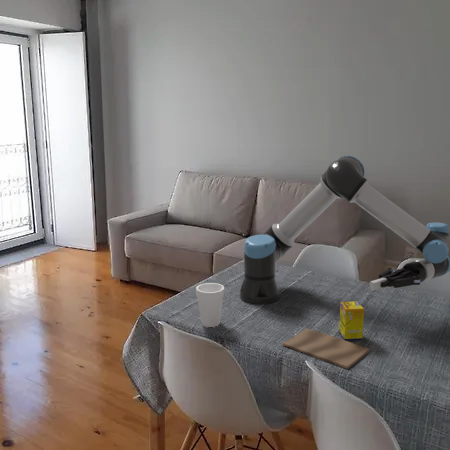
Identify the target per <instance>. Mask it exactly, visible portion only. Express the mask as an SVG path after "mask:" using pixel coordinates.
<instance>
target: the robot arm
mask: <svg viewBox="0 0 450 450" xmlns="http://www.w3.org/2000/svg"><path fill="white" fill-rule="evenodd" d="M337 199H341V200H342V199H344V200H345V201H347V202H348V203H351V204H352V203H355V204H356V205H357V206H359V207H360V208H361V209H362V210H364V211H366V213H368V214H369V215H371V217H373V218H375V219H376V220H377V221H378V222H380V223H382V224H383V225H384V226H385V227H387V228H388V229H390V230H391V231H392V232H393V233H394V234H396V235H398V236H399V237H400V238H402V239H403V240H404V241H406V243H408V244H410V246H412V247H413V248H415V249H416V250H417V251H419V252H420V253H421V254H422V255H423V258H421V259H418V260H414V261H410V262H407V263H406V264H404V265H403V266H402V268H398V269H396V270H394V269H393V268H392V267H388V268H387V270H385V271H383V272H382V273H379V274H378V275H377V276H378V277H377V279H374V280H371V281H370V282H369V291H370V290H371V291H373V292H375V291H377V290H381V289H383V288H387V287H390V288H392V287H393V288H394V289H397V288H403V287H409V286H419V285H421V283H424V282H426V281H428V280H432V279H435V278H438V277H442V276H444V275H446V274H448V273H450V257H449V256H448V255H449V252H450V249H449V235H450V226H449V224H446V223H443V222H436V221H435V222H428V223H427V224H426V226H425V225H424V224H422V223H421V222H420V221H418V220H417V219H416V218H415V217H413V216H412V215H411V214H409V213H408V212H406V210H404V209H402V208H401V207H400V206H398V205H397V204H395V203H394V202H393V201H392V200H390V199H389V198H387V197H386V196H385V195H384V194H382V193H380V192H379V191H378V190H376V189H375V188H374V187H373V186H371V185H370V184H369V180H368V179H367V178H365V167H364V164H363V162H362V161H361V160H360V159H358V157H356V156H353V155H352V156H351V155H344V156H340V157H339V158H338V159H337V160H334V161H333V162H331V164H329V166H328V167H327V169H326V170H325V171H324V173H323V174H322V175H321V176H320V182H319V183H318V184H317V185H316V186H315V187H314V189H313V190H311V191H310V192H309V194H308V195H306V197H304V199H302V200H301V201H300V203H298V204H297V205H296V206H295V207H294V208H293V209H292V210H291V211H290V212H289V213H288V214H287V215H286V216H285V217H284V218H283V219H282V220H281V221H280V222H279V223H273V224H272V225H270V227H268V229H267V230H266V231H265V232H264V233H262V234H255V235H251V236H248V237H247V238H246V240H244V241H245V242H244V246H243V252H244V260H243V261H244V262H243V263H244V268H243V269H244V278H243V281H242V283H241V287H240V290H239V298H240V300H242V301H243V302H246V303H249V304H253V305H254V304H255V305H267V304H272V303H274V302H276V301H278V300H279V298H280V290H279V288H278V283H277V281H276V263H277V262H278V261H279V260H280V259H281V258H282V257H284V255H286V254H287V252H288V251H289V250H290V249H291V248H293V246H294V245H295V240H296V238H297V237H298V236H299V235H300V234H301V233H302V232H304V230H306V228H308V227H309V226H310V225H311V224H312V223H313V222H314V221H315V220H316V219H317V218H318V217H320V216H321V214H322V213H324V212H325V210H327V209H328V208H329V206H331V205H332V204H333V203H334V202H335V201H336V200H337Z"/></svg>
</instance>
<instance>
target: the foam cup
mask: <svg viewBox="0 0 450 450" xmlns="http://www.w3.org/2000/svg"><path fill="white" fill-rule="evenodd" d="M195 295H196V299H197V305H198V310H199V317H200V323H202V324H201V325H203V326H202V327H204V326H205V327H204V328H208V327H213V328H216V327H215V326H217V327H219V326H220V325H221V321H222V311H223V303H224V295H225V286H224V285H223V284H220V283H217V282H207V283H206V282H205V283H201V284H199V285H197V286H196V287H195ZM219 324H220V325H219ZM218 325H219V326H218Z"/></svg>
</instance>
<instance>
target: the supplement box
mask: <svg viewBox="0 0 450 450" xmlns="http://www.w3.org/2000/svg"><path fill="white" fill-rule="evenodd" d="M339 304H340V308H339V324H338V325H339V327H338V333H339V335H340V336H341V339H342V340H345V341H348V342H354V341H355V342H356V341H363V337H364V336H363V333H364V318H365V308H364V307H363V306H362V304H361V303H360V302H359V301H358V300H357V301H341V302H340V303H339Z"/></svg>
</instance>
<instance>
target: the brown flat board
mask: <svg viewBox="0 0 450 450" xmlns="http://www.w3.org/2000/svg"><path fill="white" fill-rule="evenodd" d="M283 345H284V346H283ZM282 346H283V347H285V346H286V348H288V347H289V348H288V349H290V348H291V350H293V349H294V350H293V351H296V350H297V351H296V352H299V351H300V352H299V353H301V352H303V353H302V354H304V353H306V354H305V355H307V354H308V355H307V356H310V357H313V358H316V359H318V360H321V361H323V362H327V363H329V364H332V365H334V366H338V367H339V368H343V369H346V370H349V368H351V367H352V366H354V365H355V364H356V363H357V362H358V361H360V360H361V359H362V358H363V357H364V356H365V355H367V354H369V352H370V350H371V348H369V347H365V346H362V345H360V344H357V343H354V342H352V341H345V340H344V339H343V338H338V337H336V336H335V337H334V336H331V335H329V334H326V333H323V332H320V331H316V330H314V329H311V328H306V329H304V330H303V331H301V332H299V333H298V334H296V335H294V336H292V337H290V338H289V339H287V340H286V341H284V342H283V343H282Z"/></svg>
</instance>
